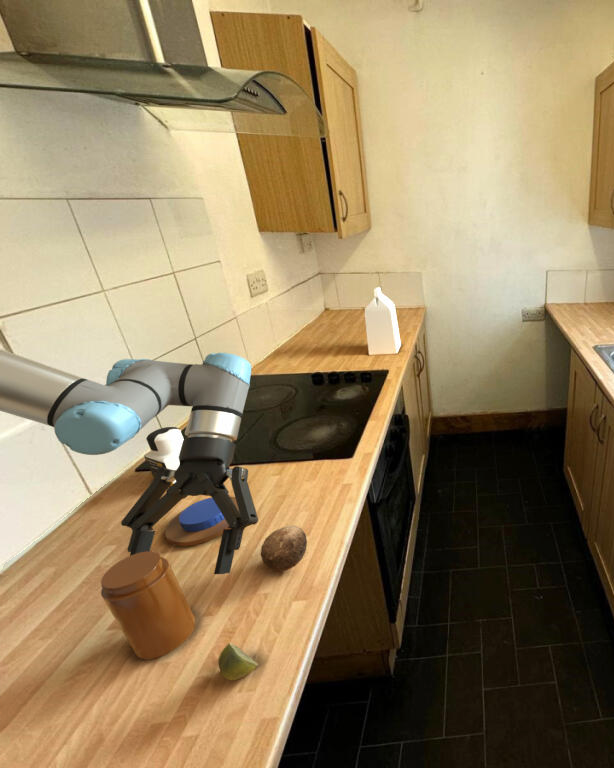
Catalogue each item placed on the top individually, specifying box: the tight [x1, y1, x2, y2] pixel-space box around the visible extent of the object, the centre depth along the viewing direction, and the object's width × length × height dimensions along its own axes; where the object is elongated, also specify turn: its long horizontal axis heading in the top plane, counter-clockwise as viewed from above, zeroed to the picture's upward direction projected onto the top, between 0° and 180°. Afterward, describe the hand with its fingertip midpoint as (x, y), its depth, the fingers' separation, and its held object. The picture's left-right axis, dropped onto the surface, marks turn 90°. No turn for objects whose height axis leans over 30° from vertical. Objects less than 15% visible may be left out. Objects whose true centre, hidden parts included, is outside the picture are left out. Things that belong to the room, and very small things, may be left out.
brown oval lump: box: [260, 524, 308, 572], centre depth 74 cm, size 8×8×6 cm
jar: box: [100, 550, 197, 660], centre depth 59 cm, size 7×7×14 cm
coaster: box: [164, 496, 239, 547], centre depth 84 cm, size 13×13×1 cm
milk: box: [364, 286, 402, 356], centre depth 173 cm, size 12×12×26 cm
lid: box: [179, 497, 224, 532], centre depth 83 cm, size 8×8×2 cm
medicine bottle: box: [143, 426, 185, 487], centre depth 95 cm, size 7×7×12 cm
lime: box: [217, 642, 259, 681], centre depth 56 cm, size 4×5×5 cm
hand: (177, 574), depth 64 cm, fingers open, 13 cm apart
